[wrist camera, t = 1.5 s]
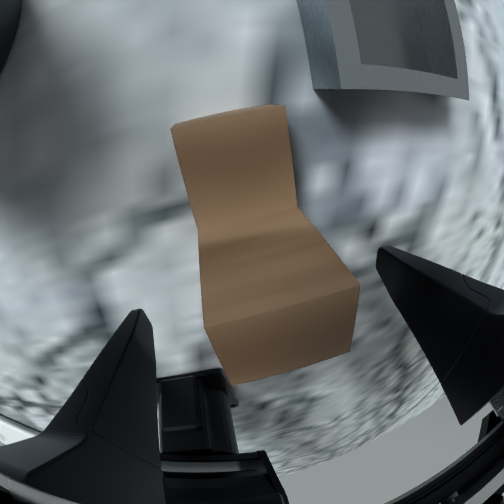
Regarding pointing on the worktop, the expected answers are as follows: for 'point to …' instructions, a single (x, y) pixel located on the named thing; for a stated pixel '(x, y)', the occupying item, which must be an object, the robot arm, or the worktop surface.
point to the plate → (14, 431)
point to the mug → (8, 26)
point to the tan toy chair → (260, 249)
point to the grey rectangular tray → (386, 45)
